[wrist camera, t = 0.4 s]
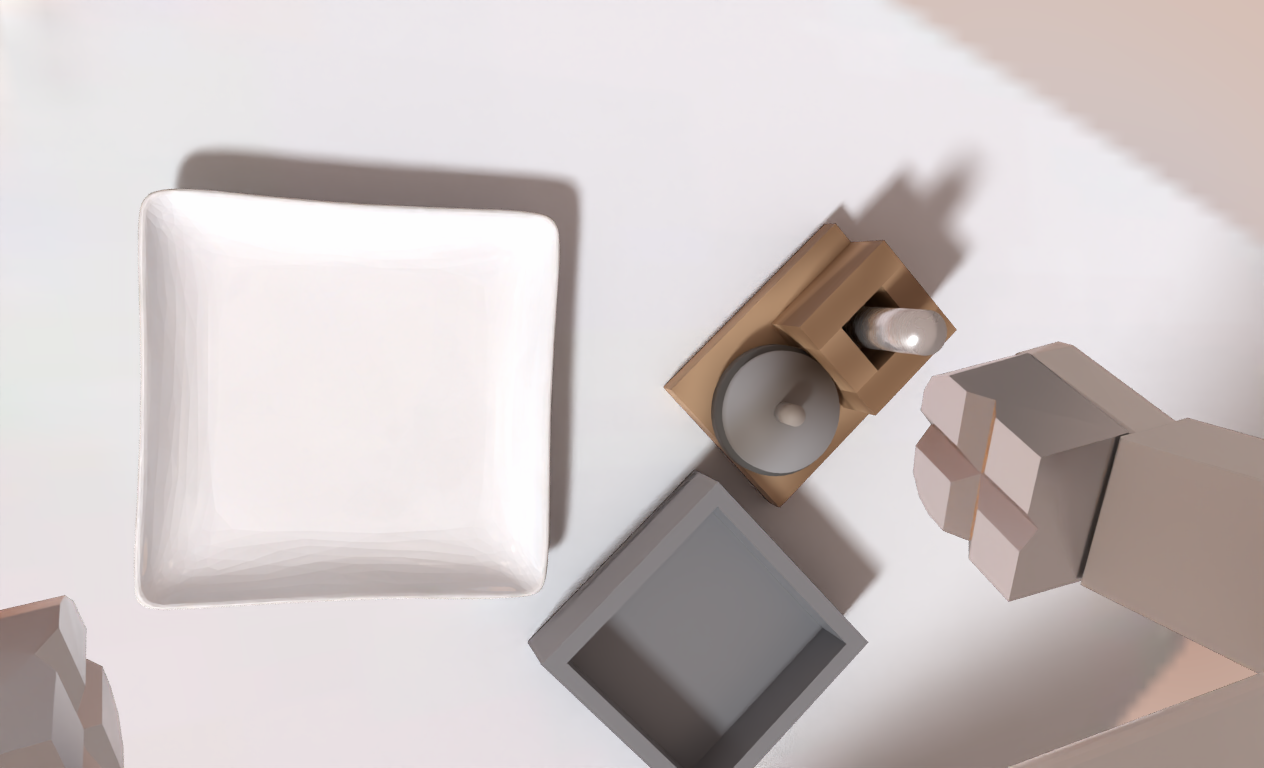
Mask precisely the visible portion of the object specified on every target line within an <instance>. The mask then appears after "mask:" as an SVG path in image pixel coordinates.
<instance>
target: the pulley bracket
mask: <svg viewBox="0 0 1264 768" xmlns="http://www.w3.org/2000/svg"><path fill="white" fill-rule="evenodd" d="M862 306H869V307H886V308H904V309H922V310H932V311H935V312H937V313H938V314H940V315H941V316H942V318H943V319H944V321H945V323H946V327H947V337H946V340H945V342H946V341H947V340H948V339H949V338H950V336H951V335H952V334H953V333H954V332H955V331H956V328H955V327H954V326H953V325H952V323H951V322H950V321H949V320H948V318H947V317H946V316H945V315H944V314H943V312H942V311H941V310H940V309H939V307H938V306H937V305H936V304H935V302H934V301H933V300H932V299H931V297H930V296H929V295H928V294H927V293H926V291H925V290H924V289H923V288H922V286H921V285H920V284H919V283H918V281H917V280H916V279H915V278H914V277H913V275H912V274H911V273H910V272H909V270H908V269H907V268H906V267H905V265H904V264H903V263H902V262H901V260H900V259H899V258H898V257H897V256H896V254H895V253H894V252H893V251H892V249H891V248H890V247H889V246H888V244H887V243H886V242H885V241H884V240H880V241H863V242H850V241H849V239H848V238H847V237H846V236H845V234H844V233H843V232H842V231H841V230H840V228H839V227H838V226H837V225H836V223H835V224H825V225H823V226H822V227H821V228H820V229H819V230H818V231H817V232H816V233H815V234H814V235H813V236H812V237H811V238H810V239H809V240H808V241H807V242H806V243H805V244H804V245H803V247H802V248H801V249H800V250H799V251H798V252H797V253H796V254H795V255H794V256H793V257H792V258H791V259H790V260H789V261H788V262H787V263H786V264H785V265H784V266H783V267H782V268H781V269H780V270H779V271H778V272H777V273H776V274H775V275H774V276H773V277H772V278H771V279H770V280H769V281H768V282H767V283H766V284H765V285H764V286H763V287H762V288H761V289H760V290H759V291H758V292H757V293H756V294H755V295H754V296H753V297H752V298H751V299H750V300H749V301H748V302H747V303H746V304H745V305H744V306H743V307H742V308H741V309H740V310H739V311H738V312H737V313H736V314H735V315H734V316H733V317H732V318H731V319H730V320H729V321H728V322H727V323H726V324H725V325H724V326H723V327H722V328H721V329H720V330H719V331H718V332H717V333H716V334H715V335H714V336H713V337H712V338H711V340H710V341H709V342H708V343H707V344H706V345H705V346H704V347H703V348H702V349H701V350H700V351H699V352H698V353H697V354H696V355H695V356H694V357H693V358H692V359H691V360H690V361H689V362H688V363H687V364H686V365H685V366H684V367H683V368H682V369H681V370H680V371H679V372H678V373H677V374H676V375H675V376H674V377H673V378H672V379H671V380H670V381H669V382H668V383H667V384H666V385H665V386H664V387H663V388H664V389H665V390H666V391H667V392H668V393H669V394H670V395H671V396H672V397H673V398H674V399H675V401H676V402H677V403H678V404H679V405H680V406H681V407H682V408H683V409H684V410H685V411H686V412H687V414H688V415H689V416H690V417H691V418H692V419H693V420H694V421H695V422H696V423H697V424H698V425H699V427H700V428H701V429H702V430H703V431H704V432H705V433H706V434H707V435H708V436H709V437H710V438H711V440H712V441H713V442H714V443H715V444H716V445H717V446H718V447H719V448H720V449H721V450H722V451H723V453H724V454H725V455H726V456H727V457H728V458H729V459H730V460H731V461H732V462H733V463H734V465H735V466H736V467H737V468H738V469H739V470H740V471H741V472H742V473H743V474H744V475H745V476H746V478H747V479H748V480H749V481H750V482H751V483H752V484H753V485H754V486H755V487H756V488H757V489H758V491H759V492H760V493H761V494H762V495H763V496H764V497H765V498H766V499H767V500H768V501H769V502H770V503H771V504H773V505H775V506H777V507H779V508H780V507H781V506H782V505H783V504H784V503H785V502H786V501H787V500H788V498H789V497H790V496H791V495H792V494H793V493H794V492H795V491H796V490H797V489H798V488H799V487H800V486H801V485H802V484H803V483H804V482H805V481H806V479H807V478H808V477H809V476H810V475H811V474H812V473H813V472H814V471H815V470H816V469H817V468H818V467H819V466H820V465H821V464H822V463H823V462H824V461H825V459H826V458H827V457H828V456H829V455H830V454H831V453H832V452H833V451H834V450H835V449H836V448H837V447H838V446H839V445H840V444H841V443H842V442H843V441H844V439H845V438H846V437H847V436H848V435H849V434H850V433H851V432H852V431H853V430H854V429H855V428H856V427H857V426H858V425H859V424H860V423H861V422H862V420H863V419H864V418H865V417H866V416H867V415H868V414H872V415H877V414H878V412H879V411H880V410H881V409H882V408H883V407H884V406H885V405H886V404H887V403H888V402H889V401H890V400H891V399H892V398H893V397H894V396H895V395H896V393H897V392H898V391H899V390H900V389H901V388H902V387H903V386H904V385H905V384H906V383H907V382H908V381H909V380H910V379H911V378H912V377H913V376H914V374H915V373H916V372H917V371H918V370H919V369H920V368H921V367H922V366H923V365H924V364H925V363H926V362H927V361H928V360H929V359H930V358H931V357H932V355H933V354H932V355H929V356H923V355H915V354H908V353H900V352H892V351H885V350H877V349H869V348H861V347H857V346H856V344H855V343H854V342H853V341H852V340H851V339H850V337H849V336H848V335H847V334H846V333H845V331H844V330H843V329H842V327H843V326H844V324H845V323H846V322H847V321H848V320H849V319H850V318H851V317H852V316H853V315H854V314H855V313H856V312H857V311H858V310H859V309H860V308H861V307H862Z"/></svg>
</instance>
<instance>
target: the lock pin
mask: <svg viewBox="0 0 1264 768" xmlns="http://www.w3.org/2000/svg"><path fill="white" fill-rule="evenodd" d="M842 329H843V330H844V331H845V333H846V334H847V335H848V336H849V337H850V339H851V340H852V341H853V342H854V343H855V344H856V346H857V347H861V348H869V349H877V350H885V351H892V352H900V353H908V354H915V355H923V356H929V355H932V354H935V353H936V352H938V351H939V350H940V349H941V348H942V346H943V345H944V343H945V340H946V337H947V327H946V323H945V321H944V319H943V318H942V316H941V315H940V314H938V313H937V312H935V311H932V310H922V309H904V308H886V307H869V306H862V307H861V308H860V309H859V310H858V311H857V312H856V313H855V314H854V315H853V316H852V317H851V318H850V319H849V320H848V321H847V322H846V323H845V324H844V326H843V327H842Z"/></svg>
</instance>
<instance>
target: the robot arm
mask: <svg viewBox="0 0 1264 768" xmlns="http://www.w3.org/2000/svg"><path fill="white" fill-rule="evenodd" d="M921 411H922V413H923V414H924V415H925V417H926V418H927V419H928V421H929V422H930V423H931V425H930V427H929V428H928V429H927V431H926V432H925V434H924V435H923V436H922V438H921V439H920V440H919V442H918V443H917V445H916V448H915V458H914V468H913V474H914V478H915V482H916V486H917V490H918V494H919V498H920V499H921V501H922V503H923V505H924V507H925V509H926V510H927V512H928V514H929V515H930V517H931V518H932V519H933V520H934V521H935V522H936V523H937V525H938V526H939V527H940V528H941V529H942V530H943V531H945V532H948V533H950V534H953V535H955V536H958V537H960V538H963V539H966V540H968V541H969V560H970V561H971V562H972V563H973V564H974V565H975V566H976V567H977V568H978V569H979V570H980V572H981V573H982V574H983V575H984V576H985V577H986V578H987V579H988V580H989V581H990V582H991V583H992V584H993V586H994V587H995V588H996V589H997V590H998V591H999V592H1000V593H1001V594H1002V595H1003V596H1004V597H1005V599H1006V600H1007V601H1008V602H1009V601H1013V600H1016V599H1020V598H1023V597H1026V596H1030V595H1033V594H1037V593H1040V592H1044V591H1047V590H1050V589H1054V588H1057V587H1061V586H1064V585H1068V584H1071V583H1074V582H1078V581H1081V580H1082V581H1081V585H1082V586H1084V587H1086V588H1088V589H1090V590H1092V591H1094V592H1096V593H1098V594H1100V595H1102V596H1104V597H1106V598H1108V599H1110V600H1112V601H1114V602H1116V603H1118V604H1120V605H1122V606H1124V607H1126V608H1128V609H1130V610H1132V611H1134V612H1136V613H1138V614H1140V615H1142V616H1144V617H1146V618H1148V619H1150V620H1152V621H1154V622H1156V623H1158V624H1160V625H1162V626H1164V627H1166V628H1168V629H1170V630H1172V631H1174V632H1176V633H1178V634H1180V635H1182V636H1184V637H1186V638H1188V639H1190V640H1192V641H1194V642H1196V643H1198V644H1200V645H1202V646H1204V647H1206V648H1208V649H1210V650H1212V651H1214V652H1216V653H1218V654H1220V655H1222V656H1224V657H1226V658H1228V659H1230V660H1232V661H1234V662H1236V663H1238V664H1240V665H1242V666H1244V667H1246V668H1249V669H1250V670H1252V671H1254V672H1256V673H1258V674H1256V675H1254V676H1251V677H1248V678H1246V679H1243V680H1240V681H1238V682H1235V683H1232V684H1230V685H1227V686H1224V687H1222V688H1219V689H1216V690H1213V691H1211V692H1208V693H1206V694H1203V695H1200V696H1198V697H1195V698H1192V699H1189V700H1187V701H1184V702H1181V703H1179V704H1176V705H1173V706H1171V707H1168V708H1165V709H1162V710H1160V711H1157V712H1154V713H1152V714H1149V715H1147V716H1144V717H1141V718H1138V719H1136V720H1133V721H1130V722H1128V723H1125V724H1122V725H1120V726H1117V727H1114V728H1112V729H1109V730H1106V731H1104V732H1101V733H1098V734H1095V735H1093V736H1090V737H1087V738H1085V739H1082V740H1079V741H1077V742H1074V743H1071V744H1069V745H1066V746H1063V747H1061V748H1058V749H1055V750H1053V751H1050V752H1047V753H1045V754H1042V755H1039V756H1037V757H1034V758H1031V759H1028V760H1026V761H1023V762H1020V763H1018V764H1015V765H1012V766H1010V767H1007V768H1264V439H1261V438H1258V437H1254V436H1250V435H1247V434H1243V433H1240V432H1236V431H1233V430H1229V429H1225V428H1222V427H1218V426H1215V425H1211V424H1208V423H1204V422H1201V421H1197V420H1193V419H1190V418H1186V419H1182V420H1178V421H1175V420H1173V419H1172V418H1171V417H1169V416H1168V415H1167V414H1165V413H1164V412H1162V411H1161V410H1160V409H1158V408H1157V407H1156V406H1154V405H1153V404H1152V403H1150V402H1149V401H1148V400H1146V399H1145V398H1144V397H1142V396H1141V395H1140V394H1138V393H1137V392H1136V391H1134V390H1133V389H1131V388H1130V387H1129V386H1127V385H1126V384H1125V383H1123V382H1122V381H1121V380H1119V379H1118V378H1117V377H1115V376H1114V375H1113V374H1111V373H1110V372H1109V371H1107V370H1106V369H1104V368H1103V367H1102V366H1100V365H1099V364H1098V363H1096V362H1095V361H1094V360H1092V359H1091V358H1090V357H1088V356H1087V355H1086V354H1084V353H1083V352H1082V351H1080V350H1079V349H1077V348H1076V347H1075V346H1073V345H1070V344H1066V343H1062V342H1055V343H1051V344H1048V345H1044V346H1041V347H1037V348H1033V349H1030V350H1026V351H1023V352H1019V353H1017V354H1015V355H1014V356H1009V357H1005V358H1001V359H997V360H993V361H989V362H986V363H982V364H978V365H974V366H970V367H966V368H962V369H959V370H955V371H951V372H947V373H943V374H939V375H935V376H932V377H931V379H930V381H929V382H928V384H927V386H926V388H925V389H924V394H923V400H922V406H921ZM0 768H124V756H123V741H122V735H121V728H120V721H119V715H118V710H117V707H116V703H115V700H114V696H113V693H112V690H111V686H110V684H109V681H108V679H107V676H106V674H105V672H104V669H103V667H102V666H101V665H98V664H96V663H94V662H92V661H90V660H88V659H86V627H85V625H84V622H83V620H82V618H81V616H80V614H79V612H78V610H77V607H76V605H75V603H74V601H73V600H72V599H70V598H69V597H67V596H66V595H64V596H59V597H55V598H51V599H46V600H42V601H38V602H33V603H29V604H25V605H21V606H16V607H12V608H8V609H3V610H0Z"/></svg>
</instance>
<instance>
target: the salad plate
mask: <svg viewBox="0 0 1264 768" xmlns="http://www.w3.org/2000/svg"><path fill="white" fill-rule="evenodd" d="M559 266H560V239H559V232H558V227H557V225H556V224H555V222H554V221H553V220H552V219H551V218H550V217H548V216H546V215H543V214H539V213H534V212H527V211H516V210H502V209H470V208H447V207H421V206H401V205H380V204H359V203H346V202H332V201H319V200H307V199H298V198H286V197H274V196H264V195H254V194H244V193H234V192H224V191H215V190H201V189H167V190H160V191H156V192H153V193H150V194H149V195H148V196H147V197H146V198H145V199H144V200H143V202H142V204H141V207H140V212H139V222H138V282H139V315H140V365H141V381H140V440H139V464H138V487H137V507H136V524H135V548H134V586H135V594H136V599H137V600H138V602H139V603H140V604H141V605H142V606H144V607H147V608H149V609H157V610H171V609H199V608H215V607H231V606H247V605H264V604H280V603H300V602H319V601H342V600H366V599H397V598H415V599H496V598H515V597H524V596H529V595H533V594H536V593H537V592H539V591H540V590H541V589H542V587H543V585H544V582H545V578H546V573H547V564H548V549H549V516H550V441H551V432H550V426H551V397H552V377H553V360H554V338H555V326H556V309H557V294H558V280H559Z"/></svg>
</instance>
